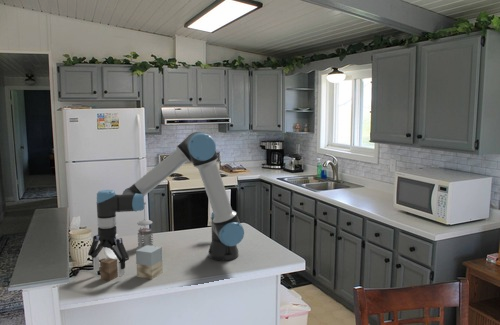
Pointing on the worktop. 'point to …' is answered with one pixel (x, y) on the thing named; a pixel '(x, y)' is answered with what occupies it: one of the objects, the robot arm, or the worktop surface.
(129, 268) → the worktop surface
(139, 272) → the beech block
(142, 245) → the french press
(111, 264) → the walnut block
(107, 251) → the white curved piece
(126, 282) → the worktop surface
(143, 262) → the grey block
